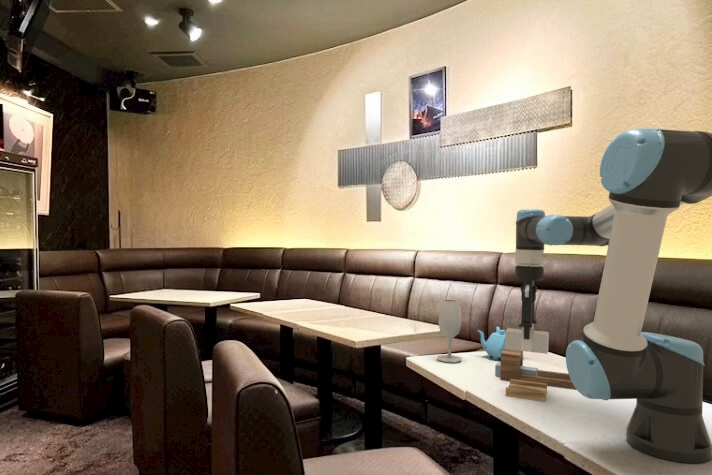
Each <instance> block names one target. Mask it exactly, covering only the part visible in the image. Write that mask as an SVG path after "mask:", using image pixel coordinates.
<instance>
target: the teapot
mask: <svg viewBox="0 0 712 475" xmlns="http://www.w3.org/2000/svg"><path fill="white" fill-rule="evenodd" d="M505 331H506V329H501V328H500V326H496V332H492V333H491V334H490V335H489V337H488V339H487V340H485V334H484V331H481V330H479V329H477V332H478V333H479V335H480V345H481V347H482V348H483V349H484V351H485V352H486V354H487V355H489V357H491V356H492V357H491V358H492V359H493V360H492V361H499V359H501V352H502V351H503V350H504V348H505Z"/></svg>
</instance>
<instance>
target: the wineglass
mask: <svg viewBox="0 0 712 475" xmlns="http://www.w3.org/2000/svg"><path fill="white" fill-rule="evenodd" d="M461 310H462V309H461V304H460V300H458V299H453V298H452V299H451V298H447V299H445V298H444V299H442V300H441V304H440V307H439V313H438V328H439V332H440V334H442V335H443V336H444V337H445V338H446V339H447V354H441V355H437V358H436V360H437V361H439V362H442V363H449V364H450V363H451V364H452V363H453V364H457V363H460V362H462V356H458V355H453V354H452V340H453V339H454V338H455V337H457V335H458V334H460V330H461V326H462V311H461Z"/></svg>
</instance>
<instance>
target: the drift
mask: <svg viewBox="0 0 712 475" xmlns="http://www.w3.org/2000/svg"><path fill="white" fill-rule="evenodd" d="M494 370H495V371H494V372H495V373H494V377H495V376H496V377H497V378H500V370H501V362H497V363H496V364H495V369H494ZM538 370H539V367H532V366H527V365H526V366H525V365H523V366H520V374H524V375H531V376H538Z"/></svg>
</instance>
